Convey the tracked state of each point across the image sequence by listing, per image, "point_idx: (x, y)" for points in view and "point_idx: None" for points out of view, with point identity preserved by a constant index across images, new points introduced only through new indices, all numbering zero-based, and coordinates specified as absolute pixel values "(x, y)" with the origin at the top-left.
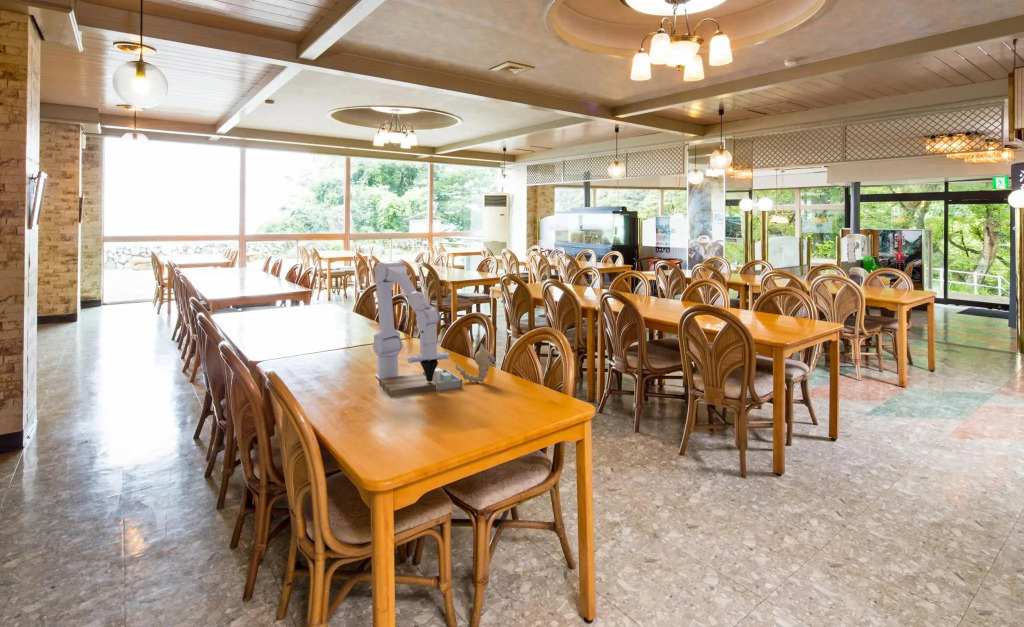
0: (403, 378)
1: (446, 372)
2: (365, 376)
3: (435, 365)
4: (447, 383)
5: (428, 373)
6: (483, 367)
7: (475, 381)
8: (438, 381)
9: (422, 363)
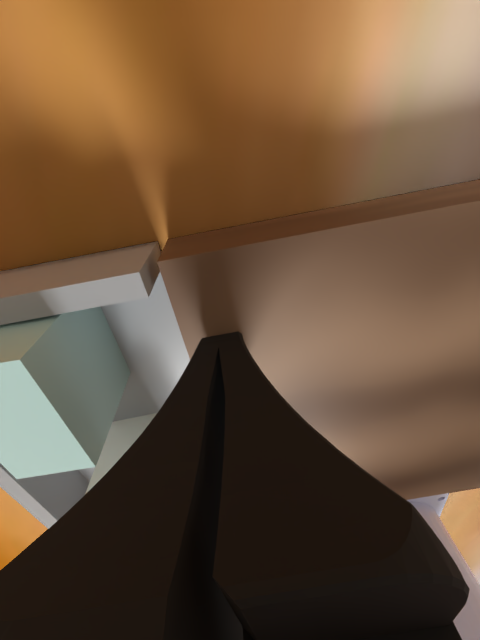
0: (386, 464)
1: (24, 473)
2: (459, 534)
3: (78, 536)
4: (25, 286)
5: (250, 387)
6: None
7: None
8: (144, 425)
9: (449, 612)
